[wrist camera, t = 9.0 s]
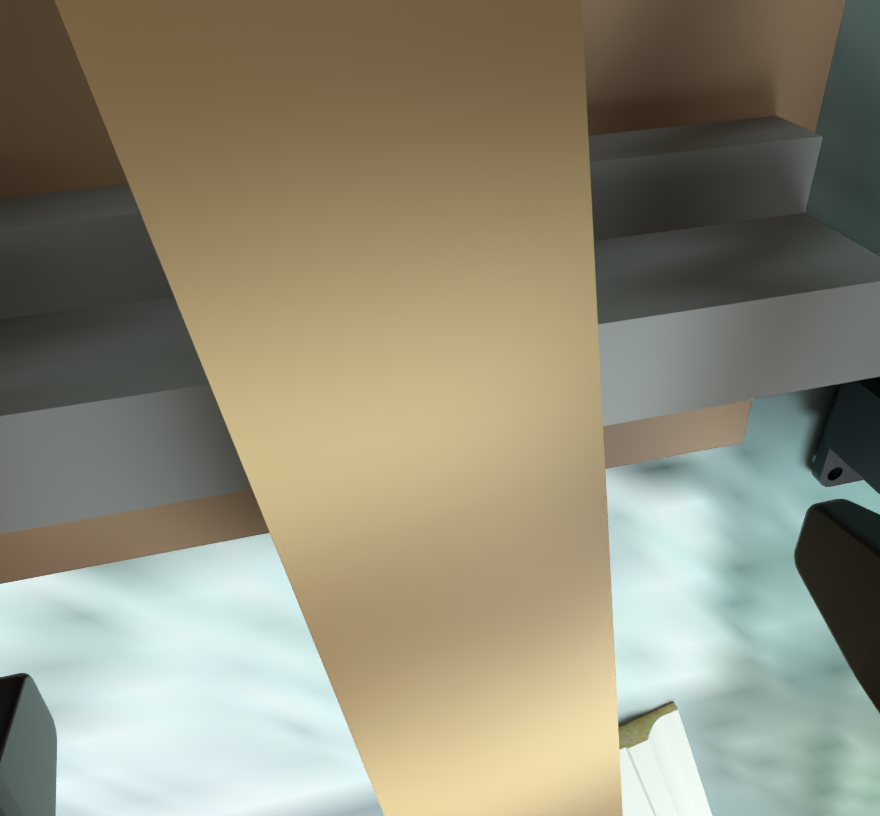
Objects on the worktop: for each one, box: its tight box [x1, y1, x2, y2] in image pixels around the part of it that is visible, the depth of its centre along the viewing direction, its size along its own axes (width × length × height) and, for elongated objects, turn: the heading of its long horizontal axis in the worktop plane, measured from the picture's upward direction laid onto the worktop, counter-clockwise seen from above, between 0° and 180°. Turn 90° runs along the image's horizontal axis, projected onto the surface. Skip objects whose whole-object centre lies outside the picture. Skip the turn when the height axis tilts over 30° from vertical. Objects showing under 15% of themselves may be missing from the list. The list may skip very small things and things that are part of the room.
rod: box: [55, 0, 623, 816], centre depth 11 cm, size 20×4×4 cm, turn 10°
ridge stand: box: [0, 0, 880, 584], centre depth 15 cm, size 20×12×6 cm, turn 92°
